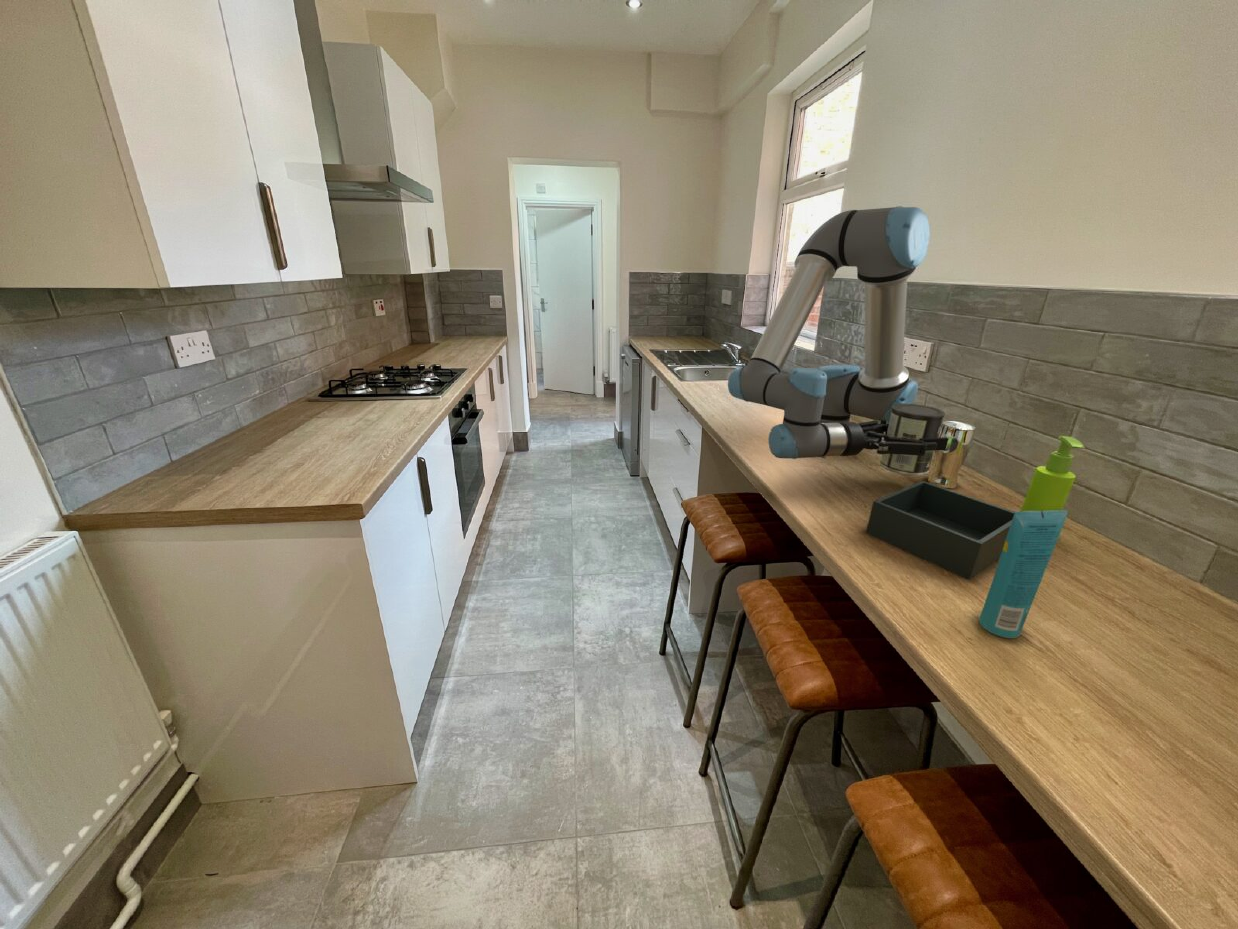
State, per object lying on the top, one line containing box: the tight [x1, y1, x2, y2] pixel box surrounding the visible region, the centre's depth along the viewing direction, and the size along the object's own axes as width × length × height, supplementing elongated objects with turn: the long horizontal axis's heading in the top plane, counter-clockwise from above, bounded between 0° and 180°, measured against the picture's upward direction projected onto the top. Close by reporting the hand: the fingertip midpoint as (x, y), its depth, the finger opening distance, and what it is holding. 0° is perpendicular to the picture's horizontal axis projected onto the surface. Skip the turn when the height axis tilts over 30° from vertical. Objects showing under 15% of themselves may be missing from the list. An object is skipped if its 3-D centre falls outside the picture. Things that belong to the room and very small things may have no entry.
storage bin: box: [865, 480, 1016, 580], centre depth 93 cm, size 19×19×7 cm
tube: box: [978, 509, 1068, 639], centre depth 68 cm, size 7×5×19 cm, turn 100°
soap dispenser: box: [1020, 435, 1085, 511], centre depth 94 cm, size 6×7×20 cm
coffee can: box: [879, 403, 946, 477], centre depth 112 cm, size 10×10×14 cm
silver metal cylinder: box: [927, 420, 976, 489], centre depth 117 cm, size 7×7×15 cm
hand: (928, 435), depth 112 cm, fingers closed on coffee can, 10 cm apart
